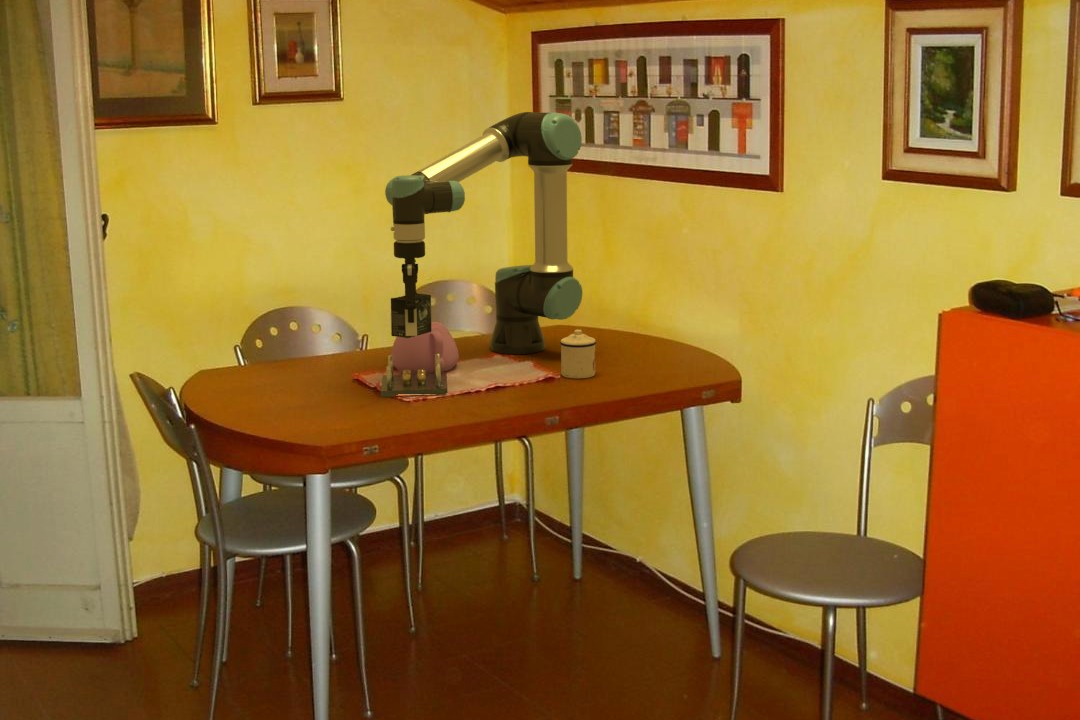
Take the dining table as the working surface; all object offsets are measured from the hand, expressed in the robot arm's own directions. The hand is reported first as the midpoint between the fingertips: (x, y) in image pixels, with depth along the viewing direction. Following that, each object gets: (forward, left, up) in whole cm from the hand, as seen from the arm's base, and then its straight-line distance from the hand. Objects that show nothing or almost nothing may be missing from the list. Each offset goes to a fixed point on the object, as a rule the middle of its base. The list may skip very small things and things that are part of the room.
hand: (411, 331), depth 323 cm
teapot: (-22, +2, -15) cm, 27 cm away
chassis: (0, 0, -14) cm, 14 cm away
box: (0, 0, -1) cm, 1 cm away
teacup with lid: (-9, +41, -15) cm, 45 cm away
